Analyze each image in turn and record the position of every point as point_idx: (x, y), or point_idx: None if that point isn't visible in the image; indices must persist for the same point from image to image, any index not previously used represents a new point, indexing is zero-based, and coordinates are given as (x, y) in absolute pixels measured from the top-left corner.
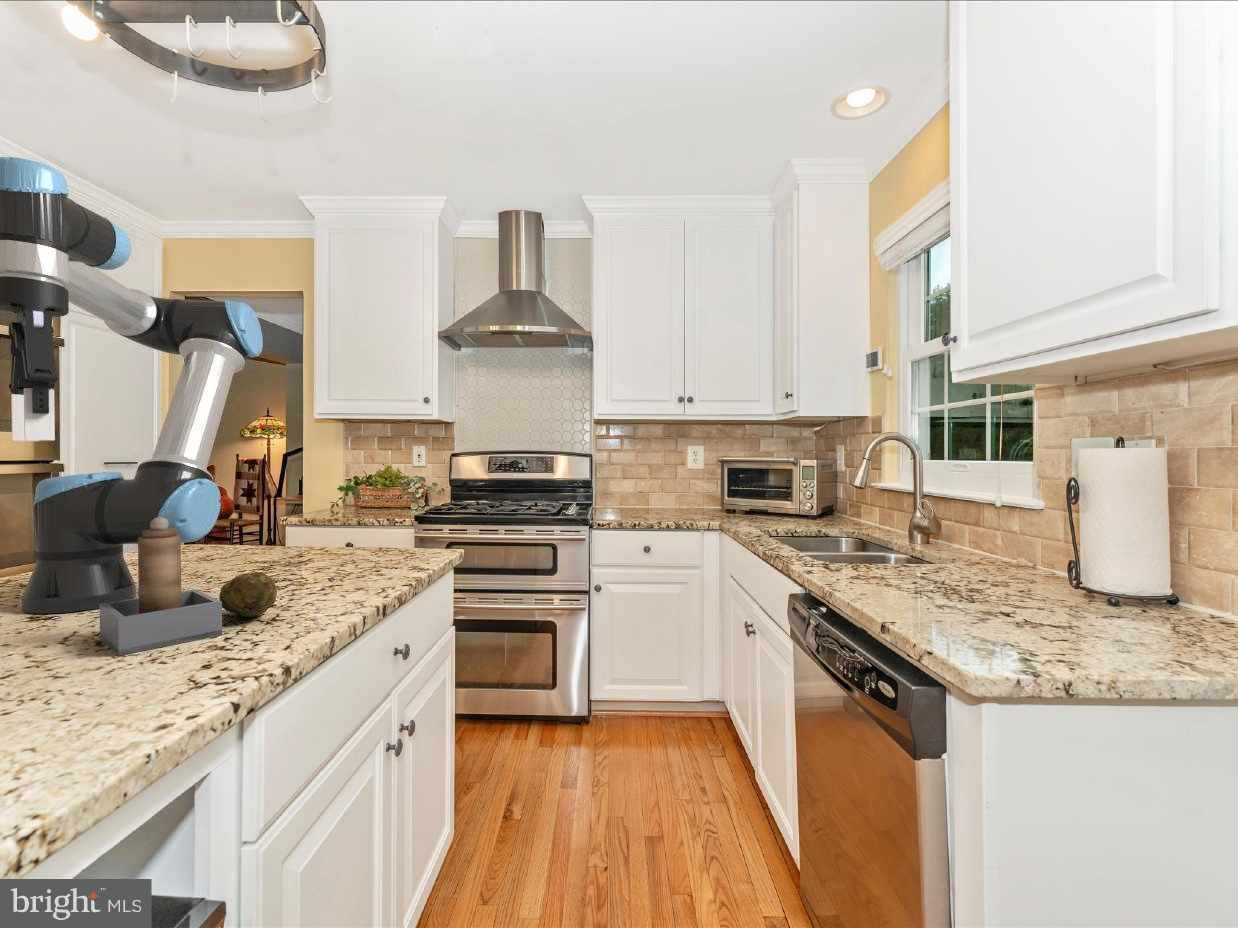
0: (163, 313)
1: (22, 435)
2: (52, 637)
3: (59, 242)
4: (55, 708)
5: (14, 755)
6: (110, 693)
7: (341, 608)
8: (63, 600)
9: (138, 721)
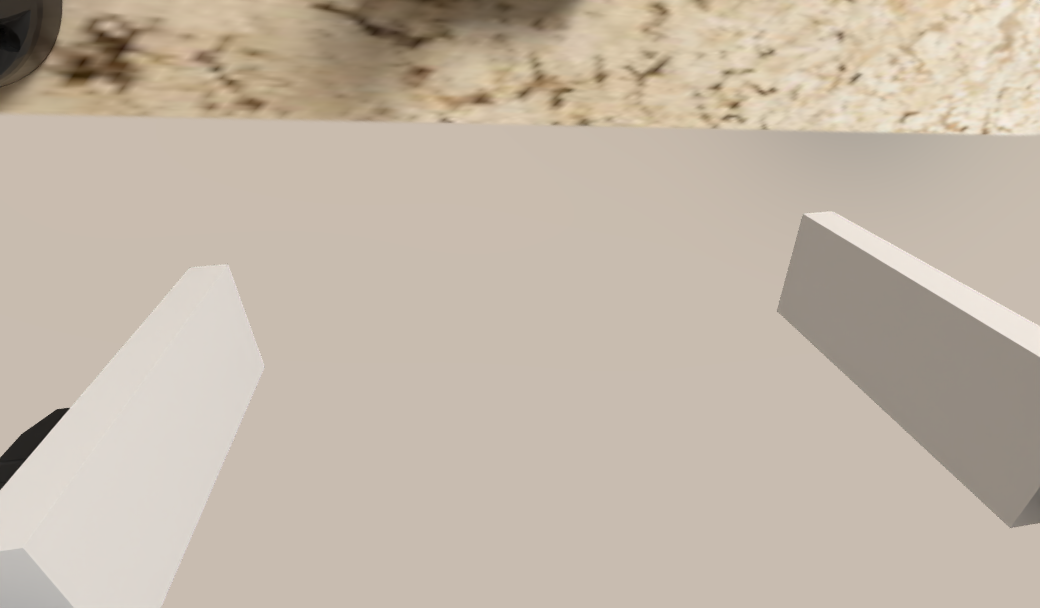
0: None
1: (242, 352)
2: (348, 53)
3: None
4: (799, 85)
5: (906, 129)
6: (807, 16)
7: None
8: (39, 7)
9: (948, 6)
